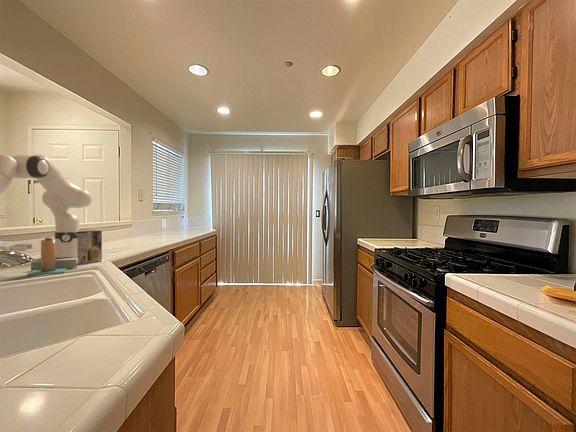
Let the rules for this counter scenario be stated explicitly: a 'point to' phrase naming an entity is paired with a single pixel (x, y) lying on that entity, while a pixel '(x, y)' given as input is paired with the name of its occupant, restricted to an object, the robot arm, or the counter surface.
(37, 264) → the acrylic wall
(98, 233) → the coffee box
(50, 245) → the amber bottle
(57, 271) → the pad
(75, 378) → the counter surface
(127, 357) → the counter surface
